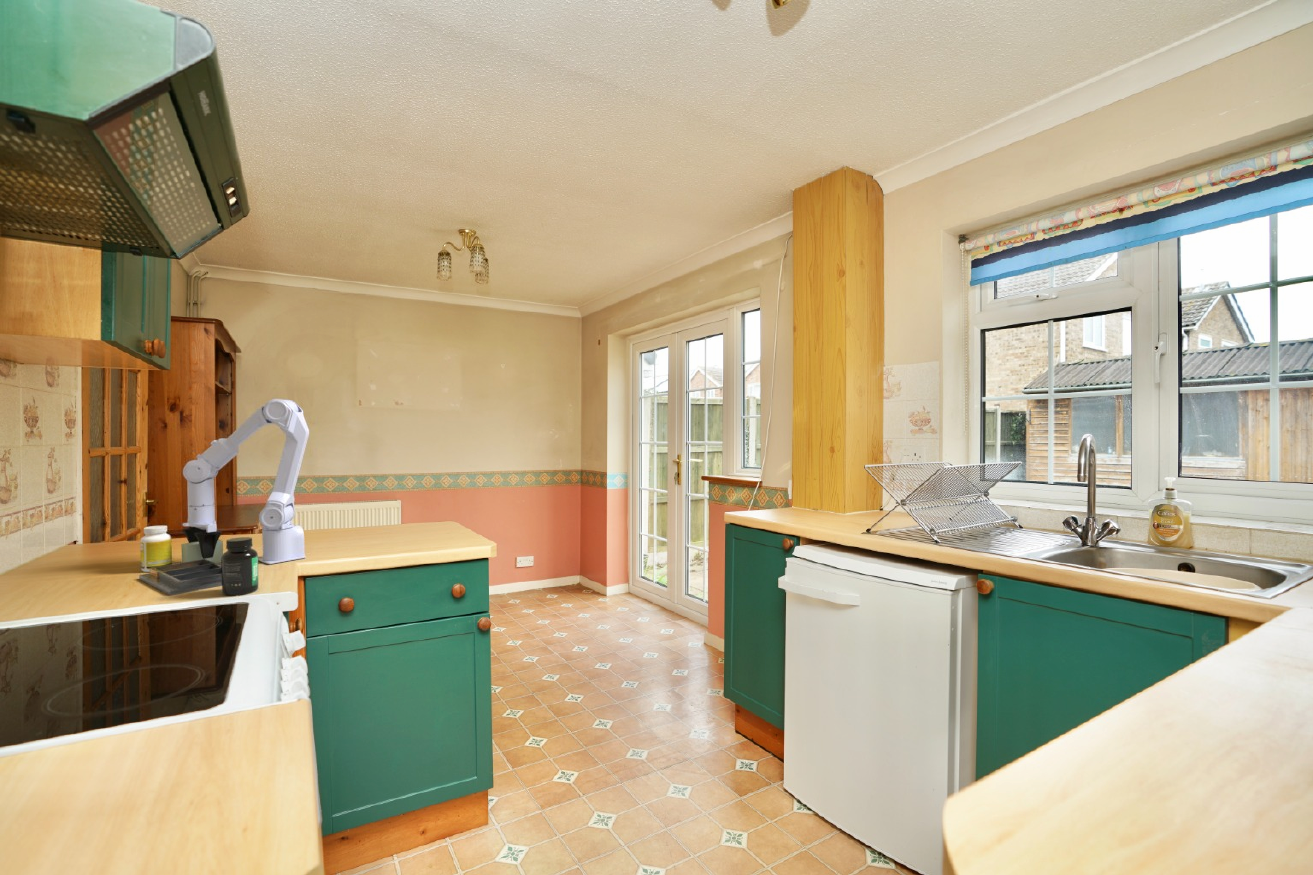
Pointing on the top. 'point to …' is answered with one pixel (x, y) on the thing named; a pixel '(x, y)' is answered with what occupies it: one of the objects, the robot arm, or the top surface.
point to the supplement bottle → (239, 567)
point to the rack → (184, 576)
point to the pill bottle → (155, 548)
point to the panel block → (194, 552)
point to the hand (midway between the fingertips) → (202, 555)
